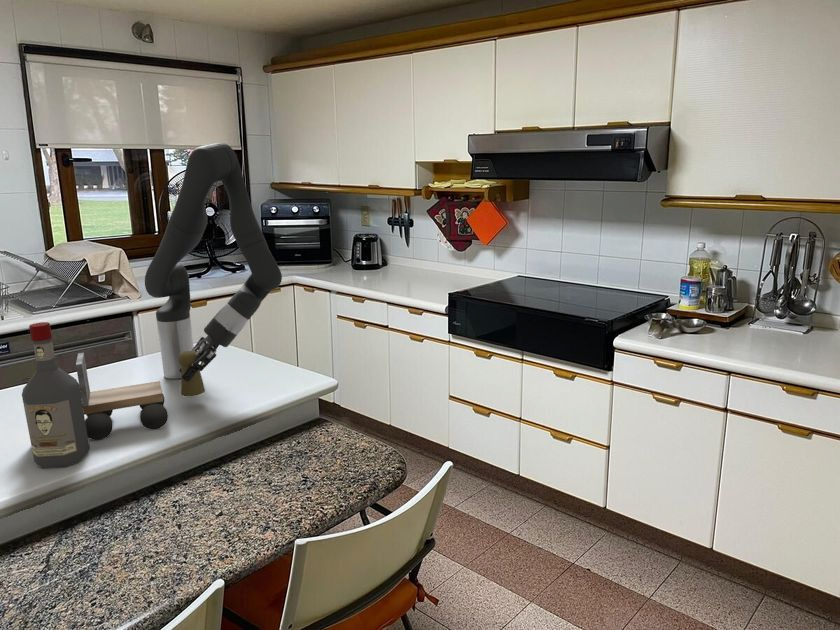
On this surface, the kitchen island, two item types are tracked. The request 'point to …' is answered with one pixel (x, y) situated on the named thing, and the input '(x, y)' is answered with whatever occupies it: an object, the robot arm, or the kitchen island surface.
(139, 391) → the trolley
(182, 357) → the cork
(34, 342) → the liquor
